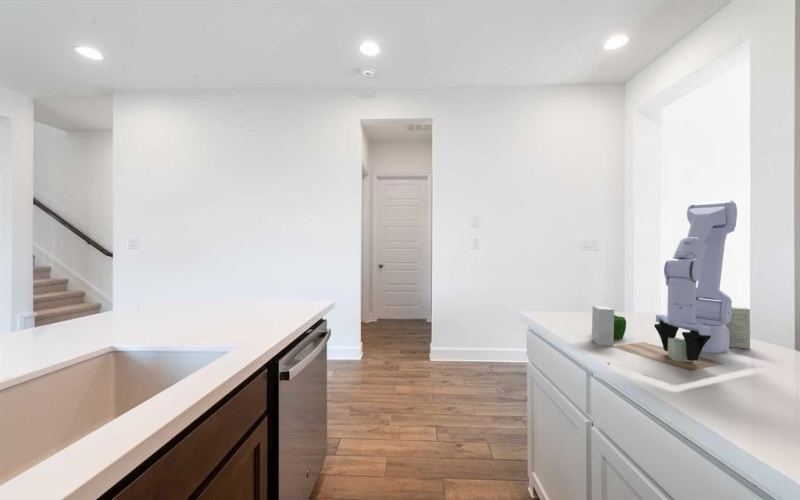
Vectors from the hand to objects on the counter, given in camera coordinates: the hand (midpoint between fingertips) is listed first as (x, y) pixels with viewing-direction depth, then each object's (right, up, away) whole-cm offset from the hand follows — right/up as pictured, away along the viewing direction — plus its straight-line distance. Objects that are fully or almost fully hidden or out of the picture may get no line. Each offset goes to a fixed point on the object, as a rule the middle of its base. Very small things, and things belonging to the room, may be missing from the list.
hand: (680, 355), depth 89 cm
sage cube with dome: (0, -1, 0) cm, 1 cm away
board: (-1, -2, +4) cm, 5 cm away
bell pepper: (-5, -2, +22) cm, 22 cm away
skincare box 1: (-12, -2, +15) cm, 19 cm away
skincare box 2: (+31, -2, +16) cm, 35 cm away
